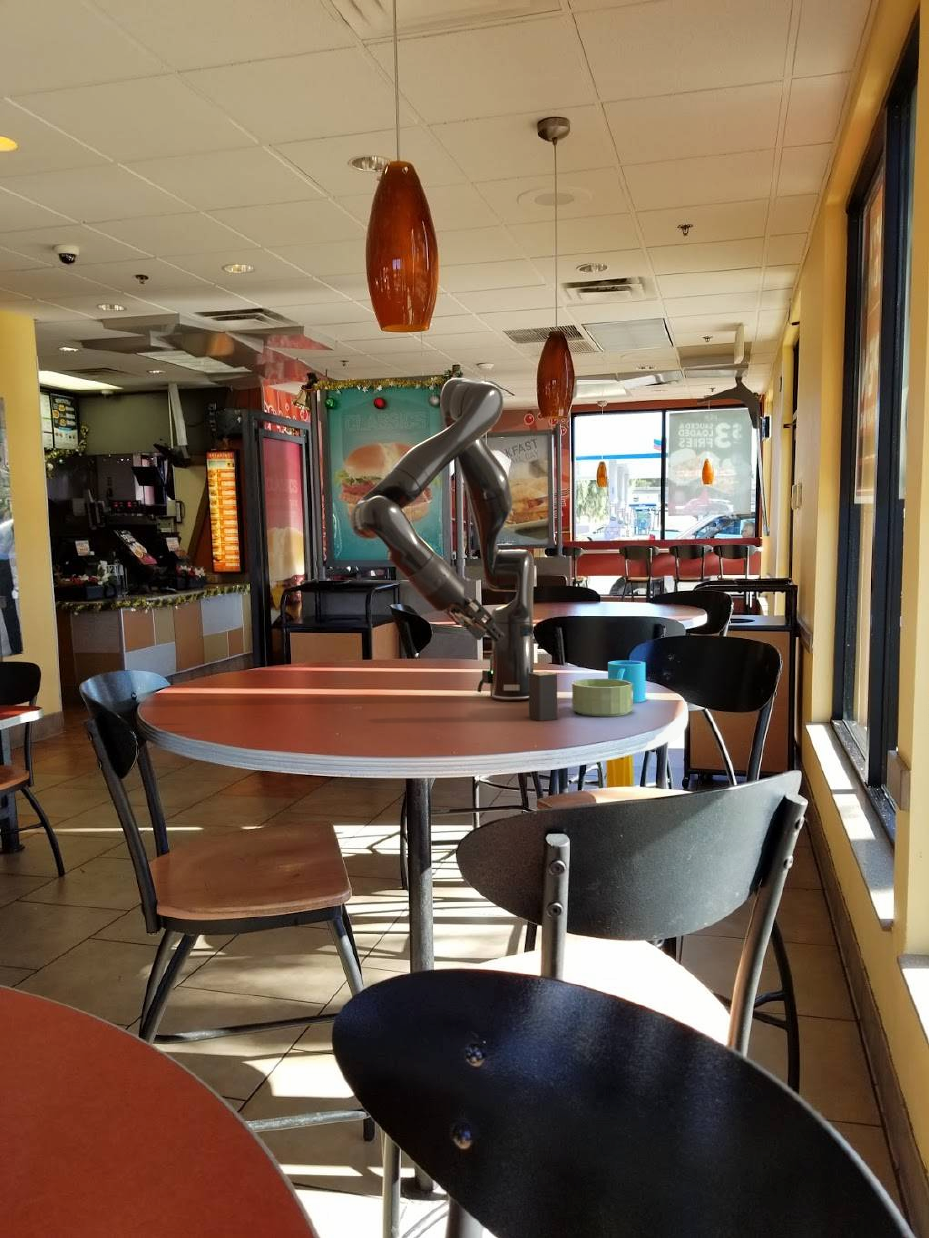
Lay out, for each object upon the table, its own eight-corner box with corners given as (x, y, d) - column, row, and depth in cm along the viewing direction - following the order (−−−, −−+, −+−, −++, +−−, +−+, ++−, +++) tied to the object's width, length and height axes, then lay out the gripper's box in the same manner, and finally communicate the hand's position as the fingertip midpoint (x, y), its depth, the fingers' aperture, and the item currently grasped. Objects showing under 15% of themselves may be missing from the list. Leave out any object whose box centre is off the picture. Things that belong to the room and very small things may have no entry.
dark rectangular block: (539, 721, 181) (539, 675, 180) (529, 717, 185) (528, 672, 184) (557, 719, 182) (557, 674, 182) (546, 715, 186) (546, 671, 186)
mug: (612, 695, 210) (612, 660, 209) (648, 697, 206) (648, 661, 206) (599, 704, 199) (599, 666, 198) (637, 706, 195) (637, 668, 195)
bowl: (560, 711, 191) (560, 682, 191) (603, 704, 198) (603, 676, 198) (600, 719, 181) (600, 689, 181) (645, 712, 188) (645, 683, 188)
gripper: (464, 566, 167) (521, 626, 172) (433, 565, 180) (487, 621, 185) (437, 596, 165) (495, 656, 170) (408, 593, 178) (463, 649, 183)
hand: (491, 638), depth 178 cm, fingers open, 8 cm apart
